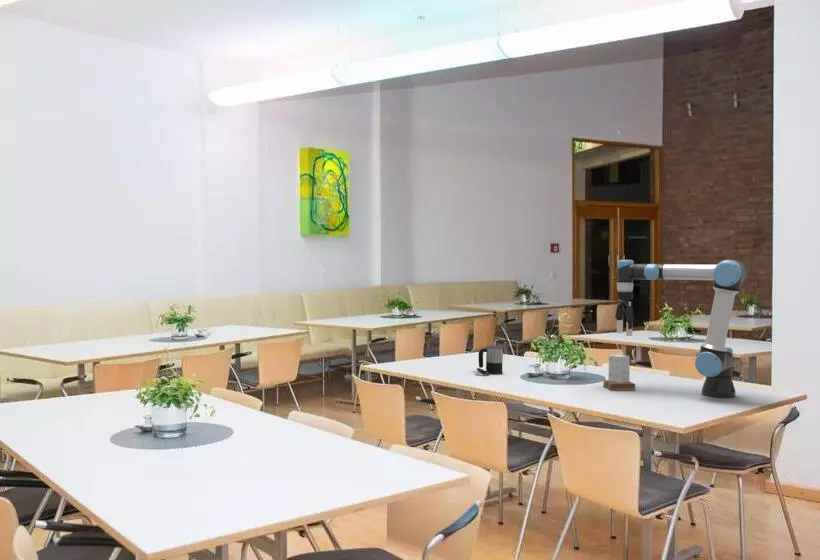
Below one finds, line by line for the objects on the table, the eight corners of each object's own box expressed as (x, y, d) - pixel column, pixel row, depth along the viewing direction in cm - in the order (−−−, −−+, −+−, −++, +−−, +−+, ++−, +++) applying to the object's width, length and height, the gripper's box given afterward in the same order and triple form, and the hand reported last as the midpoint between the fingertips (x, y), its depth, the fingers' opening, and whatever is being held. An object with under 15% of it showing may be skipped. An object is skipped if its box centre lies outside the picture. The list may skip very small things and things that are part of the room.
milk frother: (503, 372, 451) (503, 345, 451) (502, 376, 436) (503, 349, 435) (477, 371, 453) (477, 344, 453) (476, 375, 438) (476, 348, 437)
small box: (629, 382, 401) (630, 355, 400) (620, 383, 397) (621, 356, 397) (616, 380, 407) (617, 354, 407) (608, 381, 404) (608, 355, 403)
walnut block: (635, 392, 397) (635, 384, 397) (610, 392, 396) (610, 383, 396) (626, 388, 409) (627, 380, 409) (603, 387, 408) (603, 379, 408)
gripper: (641, 292, 390) (641, 336, 390) (623, 290, 415) (623, 332, 415) (626, 292, 389) (625, 336, 390) (609, 290, 414) (608, 332, 414)
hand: (624, 334), depth 402 cm, fingers open, 13 cm apart
